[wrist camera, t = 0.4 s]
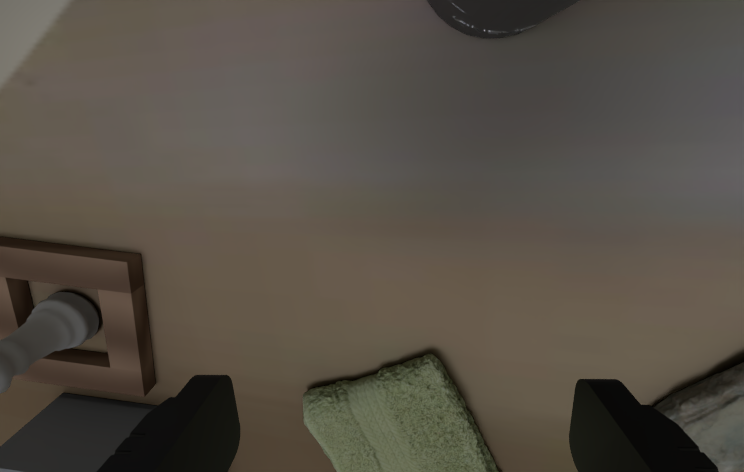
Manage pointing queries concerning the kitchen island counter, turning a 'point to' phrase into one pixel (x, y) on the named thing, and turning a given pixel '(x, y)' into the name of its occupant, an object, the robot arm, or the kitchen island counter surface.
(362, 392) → the washcloth
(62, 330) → the rook chess piece
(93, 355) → the socket block
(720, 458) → the long grey stone
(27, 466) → the bin
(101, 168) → the kitchen island counter surface
